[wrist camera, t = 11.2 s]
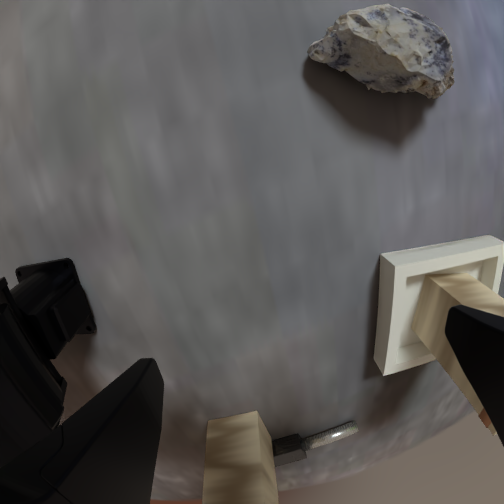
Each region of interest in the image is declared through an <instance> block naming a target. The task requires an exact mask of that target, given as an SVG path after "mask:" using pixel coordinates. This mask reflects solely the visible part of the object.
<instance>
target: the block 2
mask: <svg viewBox="0 0 504 504" xmlns="http://www.w3.org/2000/svg"><path fill="white" fill-rule="evenodd" d="M459 304H461V305H465V306H468V307H471V308H475V309H478V310H482V311H485V312H488V313H492V314H495V315H498V316H502V317H504V299H503V298H502V297H501V296H499V295H498V294H496V293H495V292H494V291H492V290H491V289H490V288H488V287H487V286H485V285H484V284H482V283H481V282H480V281H478V280H477V279H475V278H474V277H472V276H471V275H469V274H468V273H452V274H425V277H424V282H423V286H422V290H421V294H420V298H419V302H418V305H417V309H416V313H415V316H414V320H413V323H412V326H411V329H412V330H413V331H414V332H415V334H416V335H417V336H418V337H419V338H420V340H421V341H422V342H423V343H424V344H425V346H426V347H427V348H428V349H429V350H430V352H431V353H432V354H433V355H434V357H435V358H436V359H437V360H438V362H439V363H440V364H441V365H442V367H443V368H444V369H445V371H446V372H447V373H448V374H449V376H450V377H451V378H452V379H453V381H454V382H455V383H456V385H457V386H458V387H459V389H460V390H461V391H462V393H463V394H464V395H465V397H466V398H467V399H468V401H469V402H470V403H471V405H472V406H473V407H474V409H475V410H476V412H477V413H478V414H479V417H480V419H481V420H482V422H483V423H484V425H485V426H486V428H489V430H490V431H491V433H492V434H493V435H495V434H497V432H496V430H495V428H494V426H493V424H492V422H491V420H490V418H489V417H488V415H487V413H486V411H485V409H484V407H483V405H482V404H481V402H480V400H479V398H478V396H477V395H476V393H475V391H474V389H473V388H472V386H471V384H470V383H469V381H468V379H467V377H466V376H465V374H464V372H463V370H462V368H461V366H460V364H459V362H458V360H457V358H456V356H455V354H454V352H453V350H452V348H451V346H450V344H449V342H448V340H447V338H446V336H445V325H446V320H447V315H448V310H449V309H450V308H451V307H452V306H456V305H459Z"/></svg>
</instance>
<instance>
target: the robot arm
mask: <svg viewBox="0 0 504 504" xmlns="http://www.w3.org/2000/svg"><path fill="white" fill-rule="evenodd" d="M66 263H67V264H68V265H69V267H67V266H66ZM20 272H21V273H20ZM15 273H16V276H17V279H18V282H19V284H18V285H16V286H15V287H14V288H12V289H11V290H9V288H8V286H7V284H8V283H7V281H6V279H5V277H3V278H1V279H0V504H150V498H151V491H152V484H153V477H154V471H155V464H156V458H157V452H158V446H159V440H160V434H161V426H162V409H163V393H164V381H163V378H162V375H161V373H160V370H159V368H158V365H157V363H156V361H155V359H153V358H142V359H139V360H138V361H137V362H136V363H134V364H133V365H132V366H131V367H130V368H128V369H127V370H126V371H125V372H124V373H122V374H121V375H120V376H119V377H118V378H116V379H115V380H114V381H113V382H112V383H110V384H109V385H108V386H107V387H106V388H104V389H103V390H102V391H101V392H100V393H98V394H97V395H96V396H95V397H94V398H92V399H91V400H90V401H89V402H87V403H86V404H85V405H84V406H83V407H81V408H80V409H79V410H78V411H77V412H75V413H74V414H73V415H72V416H70V417H69V418H68V419H67V420H66V421H64V422H63V423H62V425H59V422H60V419H61V416H62V414H63V411H64V406H63V402H64V397H65V392H66V387H67V382H66V380H65V379H64V378H63V377H61V376H60V374H59V373H58V371H57V370H56V368H55V367H54V366H53V364H52V363H51V361H50V360H51V359H56V357H57V356H58V354H59V353H60V352H61V350H62V349H63V347H64V346H65V345H66V343H67V342H70V341H71V339H72V338H73V337H74V335H75V334H92V333H93V332H94V331H95V330H96V326H95V323H94V321H93V318H92V315H91V311H90V309H89V306H88V303H87V301H86V298H85V295H84V292H83V289H82V286H81V285H80V282H79V279H78V276H77V273H76V270H75V267H74V264H73V261H72V260H71V259H69V258H64V259H58V260H53V261H47V262H42V263H37V264H31V265H26V266H21V267H19V268H17V269H16V272H15ZM88 326H90V327H91V328H89V327H88ZM445 336H446V338H447V340H448V342H449V344H450V346H451V348H452V350H453V352H454V354H455V356H456V358H457V360H458V362H459V364H460V366H461V368H462V370H463V372H464V374H465V376H466V377H467V379H468V381H469V383H470V384H471V386H472V388H473V389H474V391H475V393H476V395H477V396H478V398H479V400H480V402H481V404H482V405H483V407H484V409H485V411H486V413H487V415H488V417H489V418H490V420H491V422H492V424H493V426H494V428H495V430H496V432H497V434H498V436H499V438H500V440H501V442H502V444H503V446H504V317H502V316H498V315H495V314H492V313H488V312H485V311H482V310H478V309H475V308H471V307H468V306H465V305H461V304H459V305H456V306H452V307H451V308H450V309H449V310H448V315H447V320H446V325H445ZM58 425H59V426H58Z"/></svg>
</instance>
